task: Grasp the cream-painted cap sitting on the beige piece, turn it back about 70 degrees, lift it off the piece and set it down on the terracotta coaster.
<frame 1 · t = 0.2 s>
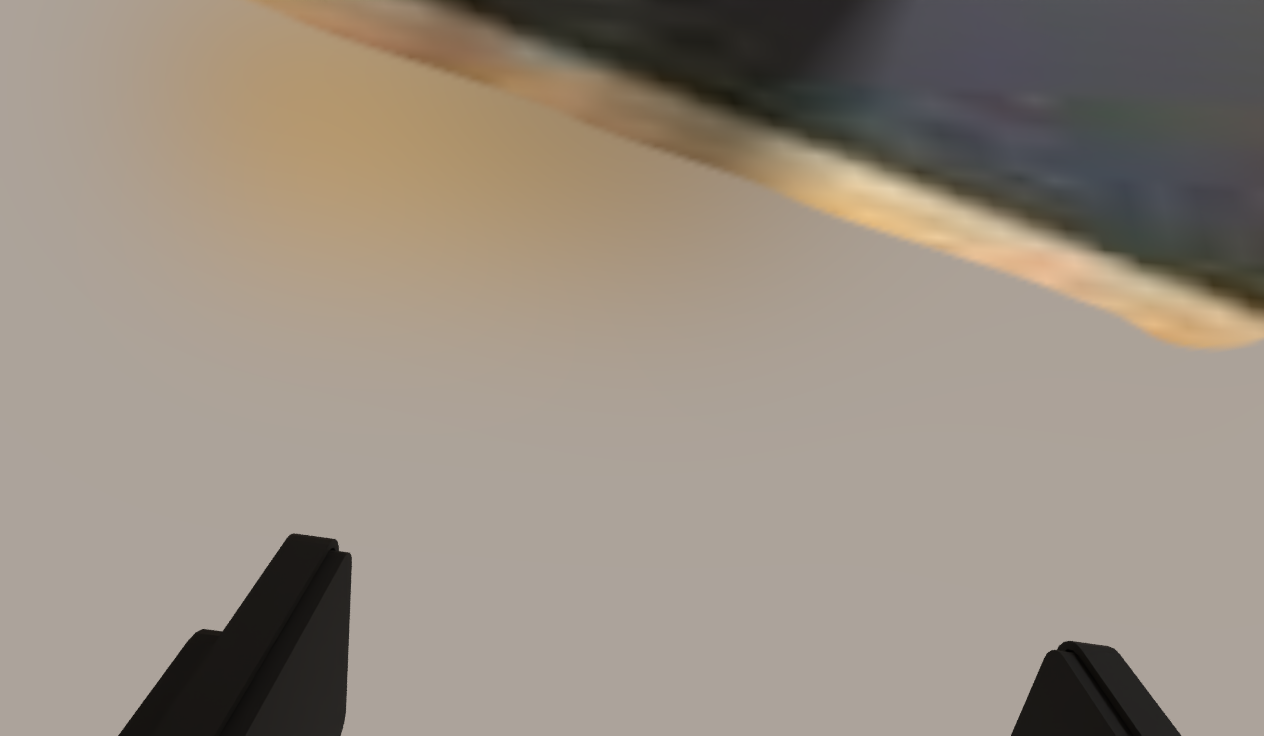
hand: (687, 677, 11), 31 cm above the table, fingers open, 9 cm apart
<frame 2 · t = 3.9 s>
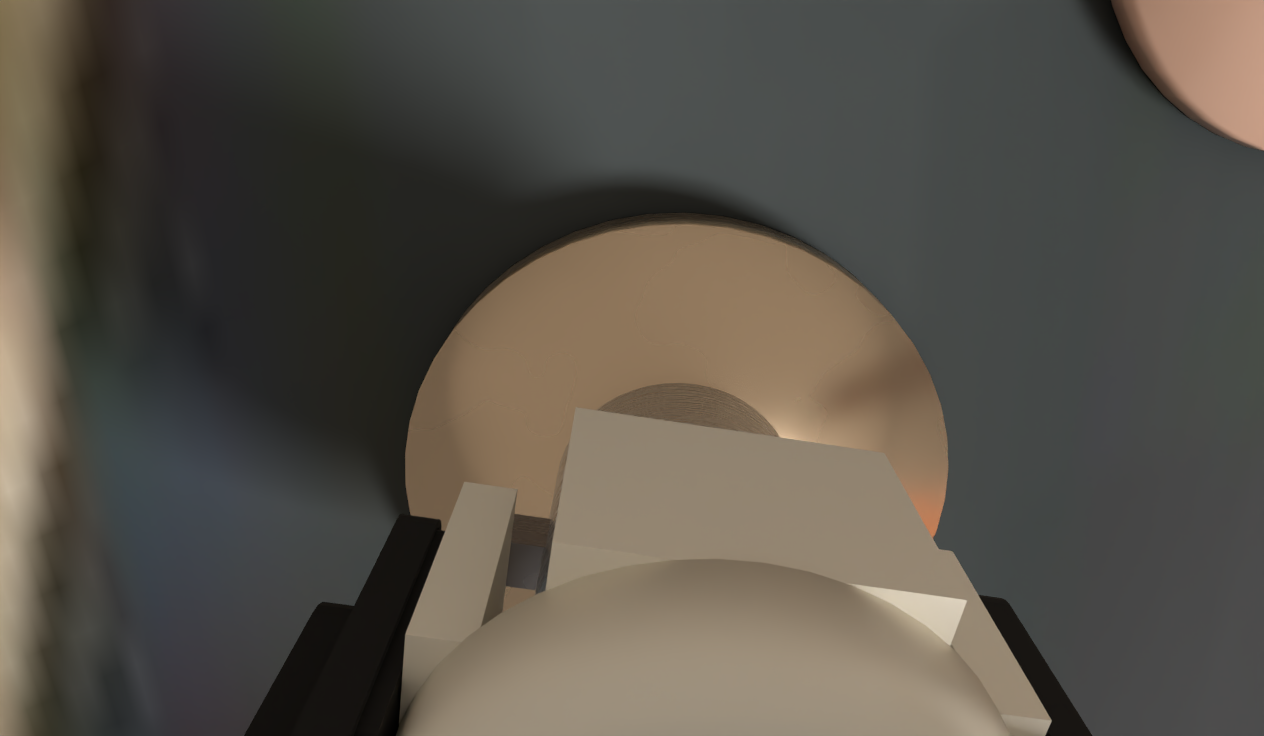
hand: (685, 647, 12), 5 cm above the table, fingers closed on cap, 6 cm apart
beige piece: (673, 465, 17), on the table
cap: (684, 636, 12), point 5 cm above the table, touching gripper, beige piece
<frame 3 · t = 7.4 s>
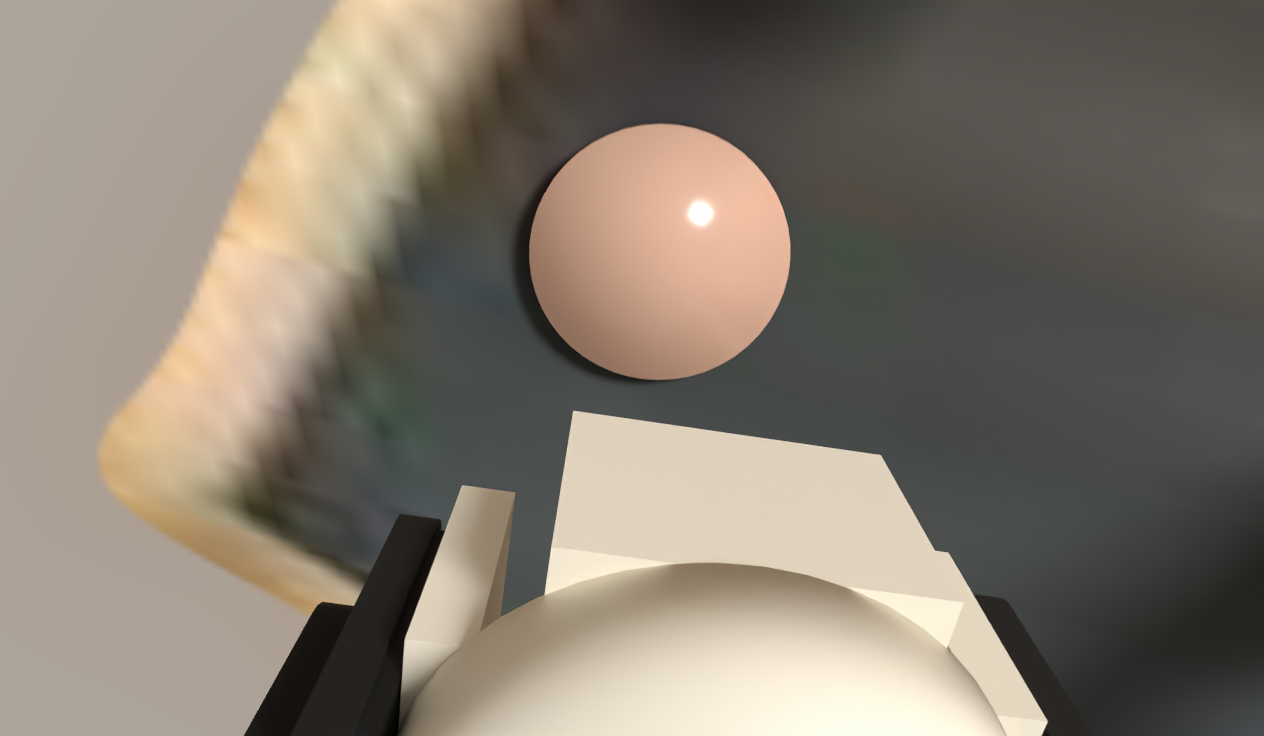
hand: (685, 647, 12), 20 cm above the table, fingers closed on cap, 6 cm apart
coaster: (659, 254, 30), on the table
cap: (682, 638, 12), point 20 cm above the table, touching gripper
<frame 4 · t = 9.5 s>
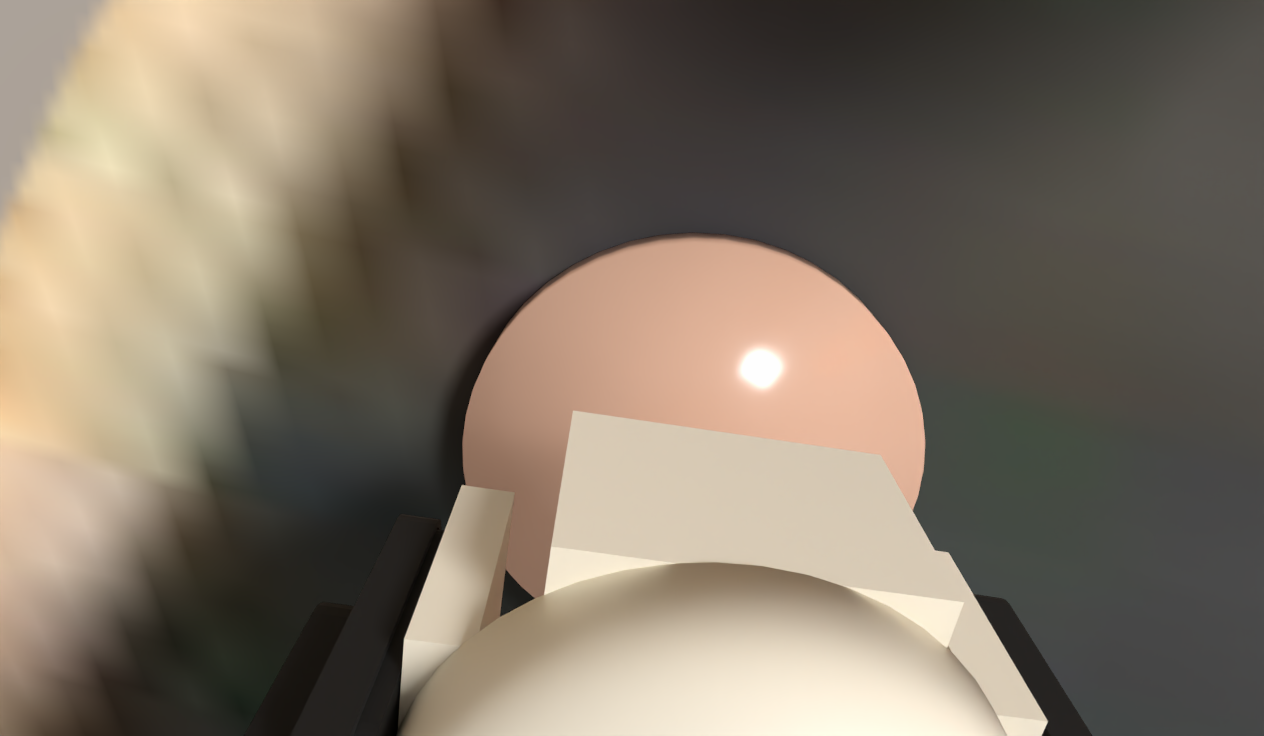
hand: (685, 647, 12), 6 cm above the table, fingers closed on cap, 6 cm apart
coaster: (690, 449, 17), on the table
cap: (682, 638, 12), point 6 cm above the table, touching gripper
when the fingers open (2 cm above the table, at t = 11.1 s): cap drops 1 cm, resting on coaster.
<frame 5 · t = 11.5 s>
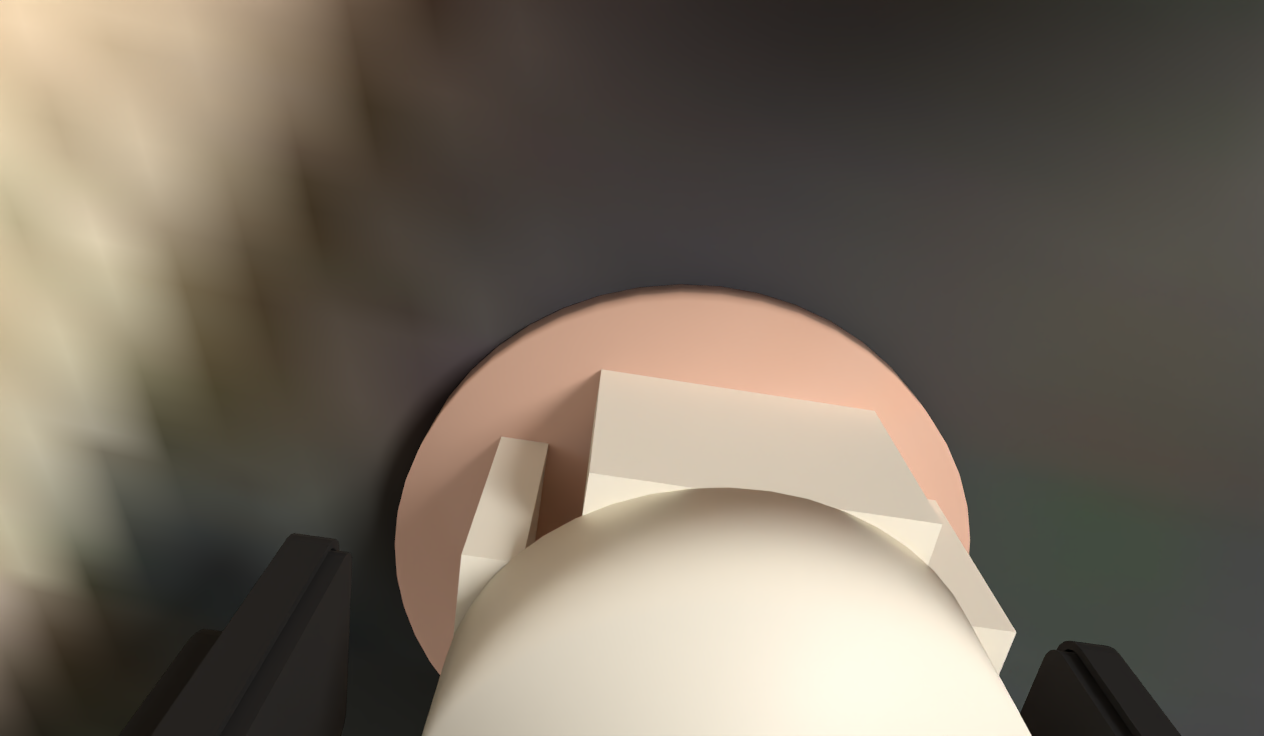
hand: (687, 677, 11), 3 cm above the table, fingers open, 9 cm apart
coaster: (678, 544, 14), on the table
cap: (696, 578, 13), point 1 cm above the table, touching coaster
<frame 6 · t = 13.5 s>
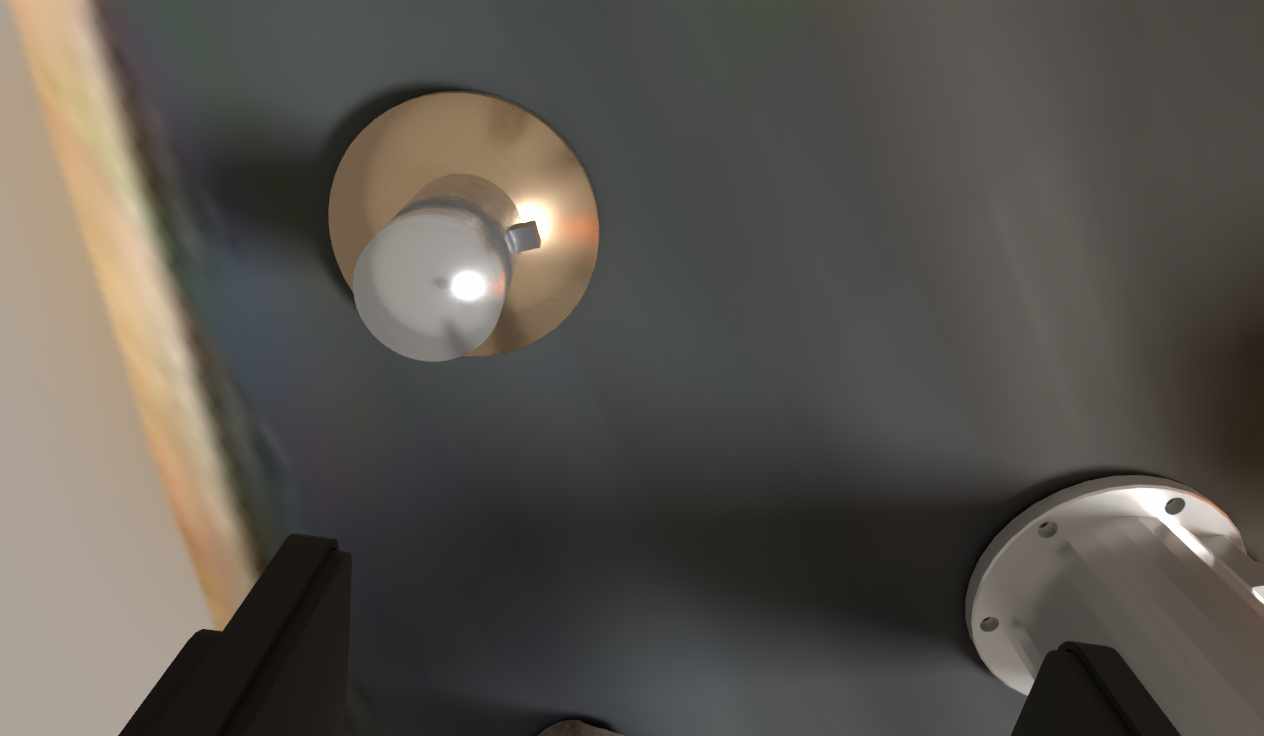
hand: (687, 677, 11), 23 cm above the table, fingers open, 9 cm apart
beige piece: (468, 226, 33), on the table
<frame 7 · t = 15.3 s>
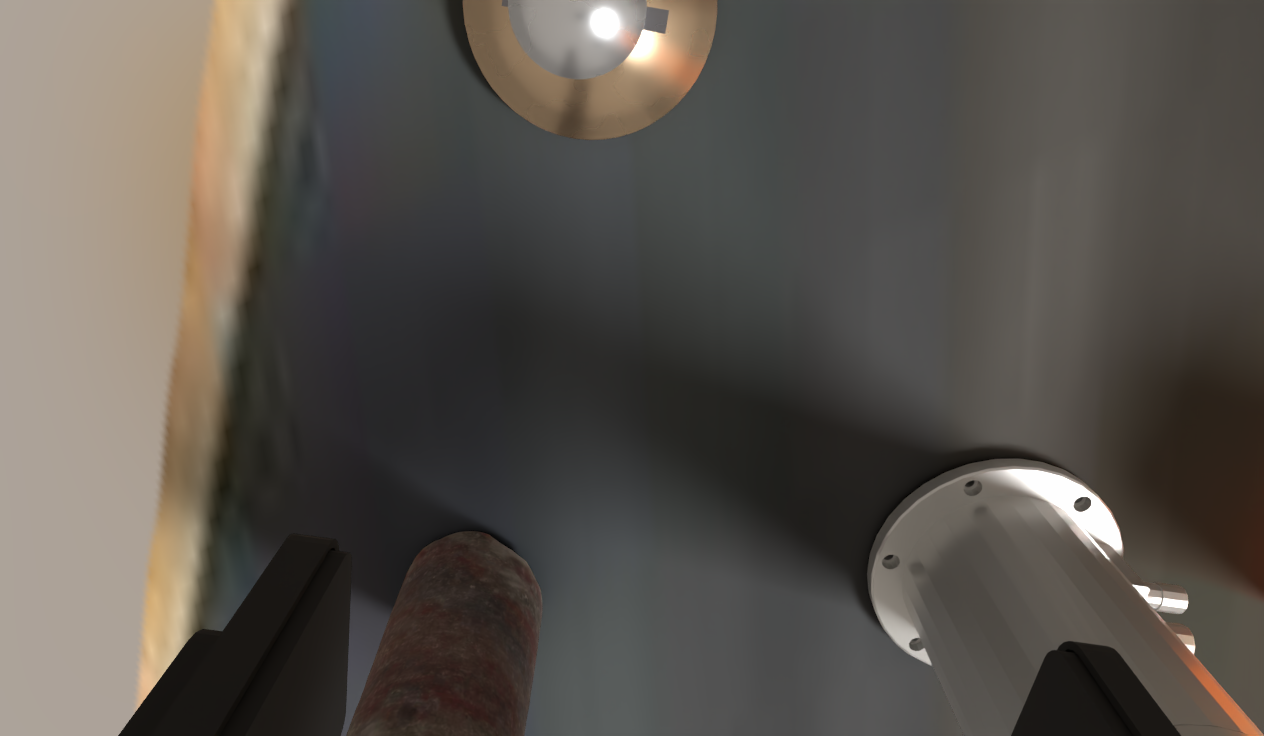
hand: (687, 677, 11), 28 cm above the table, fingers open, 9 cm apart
candle: (479, 586, 45), on the table
beige piece: (591, 9, 34), on the table
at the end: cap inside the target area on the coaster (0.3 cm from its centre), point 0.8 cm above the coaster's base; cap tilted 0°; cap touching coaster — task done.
